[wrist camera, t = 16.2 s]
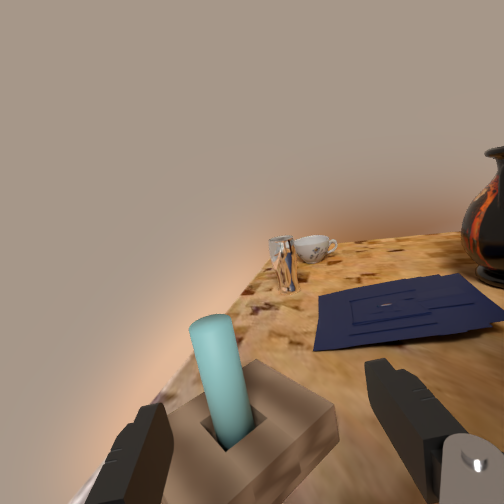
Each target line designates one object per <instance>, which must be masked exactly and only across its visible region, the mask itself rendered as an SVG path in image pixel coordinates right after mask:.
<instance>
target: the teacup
mask: <svg viewBox="0 0 504 504" xmlns="http://www.w3.org/2000/svg"><path fill="white" fill-rule="evenodd" d="M331 243H335V247H334V248H333V249H332V250H330V251H328V248H329V246H330V244H331ZM294 244H295V249H296V253H297V254H298V256H299V257H300V258H301V259H302V260H304V261H305V262H306V263H317V262H320V261H321V260H322V259H323V258H324V256H325V255H326V254H328V253H331V252H333V251H335V249H336V248H337V241H336V240H333V239H332V240H331V241H329V237H327V236H323V235H315V236H308V237H303V238H301V239H297V240H296V241H294ZM327 251H328V252H327Z"/></svg>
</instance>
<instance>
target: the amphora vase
mask: <svg viewBox="0 0 504 504" xmlns="http://www.w3.org/2000/svg"><path fill="white" fill-rule="evenodd" d="M485 156H486V157H490V158H493V159H496V162H497V167H498V171H497V173H496V175H495V177H494V178H493V179H492V181H491V182H490V183H489V184H488V185H487V186H486V187H485V188H484V189H483V190H482V191H481V192H480V193H479V194H478V195H477V196H476V197H475V198H474V200H473V201H472V202H471V204H470V206H469V207H468V209H467V211H466V214H465V217H464V219H463V224H462V229H461V242H462V246H463V248H464V250H465V251H466V253H467V254H468V255H469V256H470V257H471V258H472V259H473V260H474V261H475V262H476V263H477V264H479V266H478V267H477V268H476V272H475V273H476V276H477V277H478V278H479V279H480V280H482V281H483V282H485V283H487V284H490V285H493V286H496V287H500V288H504V146H502V147H497V148H492V149H489V150H487V151H486V152H485Z"/></svg>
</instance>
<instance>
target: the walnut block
mask: <svg viewBox="0 0 504 504" xmlns="http://www.w3.org/2000/svg"><path fill="white" fill-rule="evenodd" d="M242 371H243V375H244V380H245V384H246V389H247V393H248V398H249V402H250V407H251V411H252V416H253V420H254V425H255V429H254V430H253V431H251V432H250V433H249V434H248V435H246V436H245V437H244V438H243V439H241V440H240V441H239V442H238V443H236V444H235V445H234V446H233V447H232V448H230V449H229V450H228V451H227V452H225V451H224V450H223V449H222V448H221V446H220V445H219V444H218V441H217V437H216V434H215V430H214V426H213V422H212V418H211V414H210V410H209V406H208V403H207V399H206V395H205V392H203V393H202V394H200V395H199V396H197V397H195V398H194V399H192V400H191V401H189V402H188V403H186V404H184V405H183V406H181V407H180V408H178V409H177V410H175V411H173V412H172V413H170V414H169V415H167V417H168V420H169V423H170V426H171V429H172V432H173V437H174V452H173V456H172V460H171V464H170V468H169V472H168V476H167V480H166V484H165V488H164V493H163V497H162V501H161V503H162V504H281V503H282V502H283V501H284V500H285V499H286V498H287V497H288V496H289V494H290V493H291V492H292V491H293V490H294V489H295V488H296V487H297V486H298V485H299V484H300V483H301V482H302V481H303V480H304V478H305V477H306V476H307V475H308V474H309V473H310V472H311V471H312V470H313V469H314V468H315V467H316V466H317V465H318V464H319V462H320V461H321V460H322V459H323V458H324V457H325V456H326V455H327V454H328V453H329V452H330V451H331V450H332V449H333V448H334V446H335V445H336V444H337V443H338V442H339V434H338V428H337V421H336V414H335V407H334V404H333V403H331V402H329V401H328V400H326V399H324V398H323V397H321V396H319V395H317V394H316V393H314V392H312V391H310V390H309V389H307V388H305V387H304V386H302V385H300V384H298V383H297V382H295V381H293V380H292V379H290V378H288V377H286V376H285V375H283V374H281V373H279V372H278V371H276V370H274V369H273V368H271V367H269V366H267V365H266V364H264V363H262V362H260V361H259V360H257V359H255V360H254V361H252V362H251V363H249V364H247V365H246V366H244V367H243V368H242Z"/></svg>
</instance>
